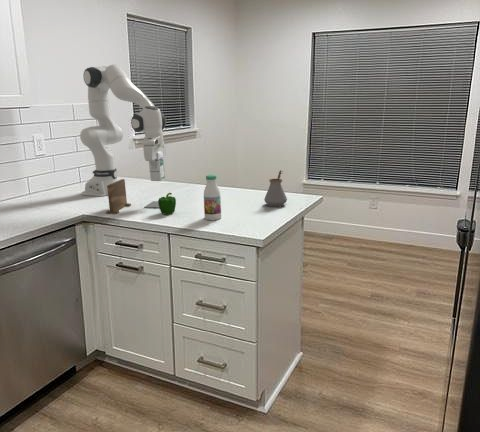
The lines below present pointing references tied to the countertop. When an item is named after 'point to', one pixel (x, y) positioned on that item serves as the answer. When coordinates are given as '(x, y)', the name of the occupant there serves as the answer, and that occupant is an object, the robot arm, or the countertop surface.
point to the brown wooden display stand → (117, 197)
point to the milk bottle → (212, 199)
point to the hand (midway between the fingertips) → (156, 167)
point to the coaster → (152, 205)
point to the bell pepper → (167, 204)
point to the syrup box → (157, 168)
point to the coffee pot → (275, 193)
